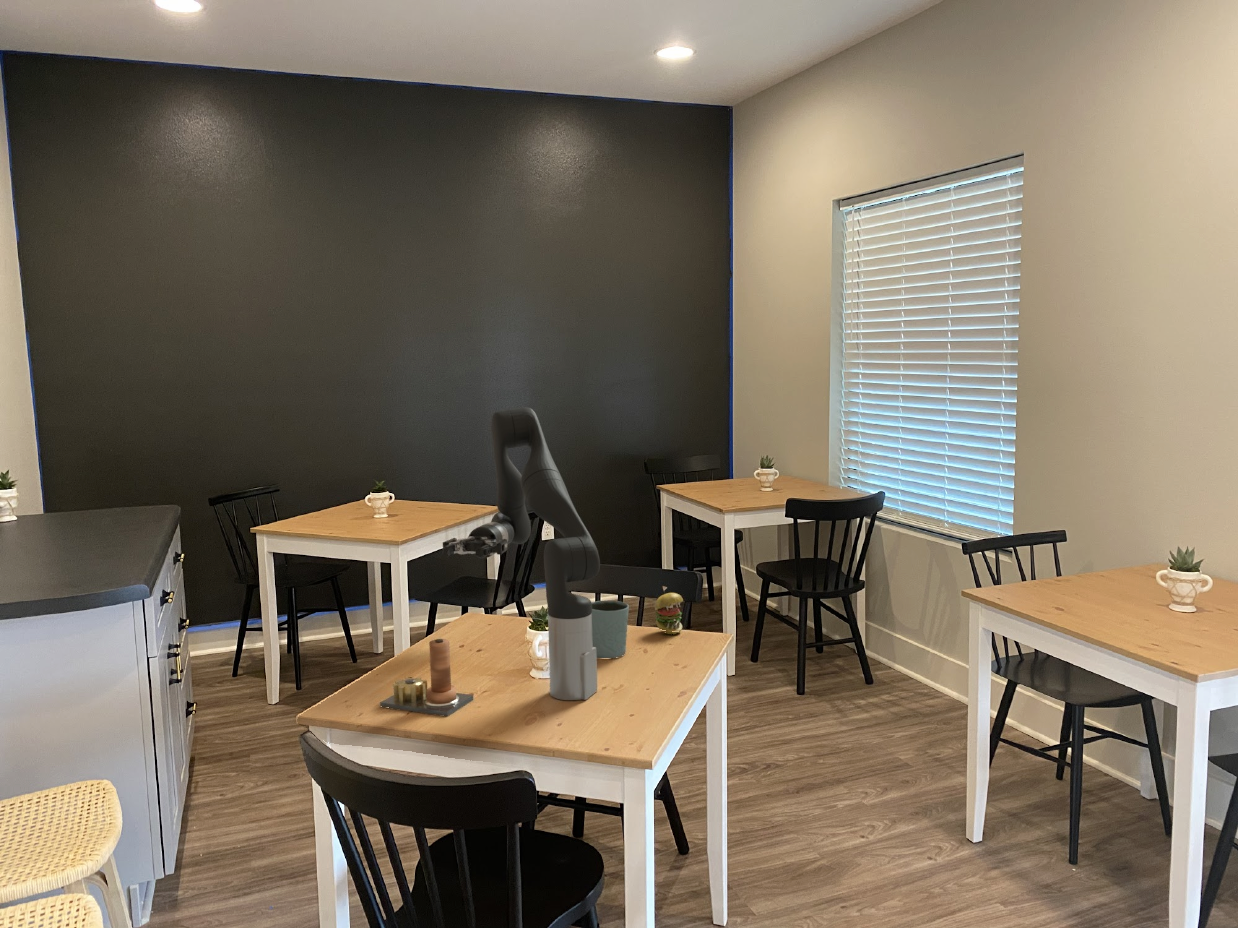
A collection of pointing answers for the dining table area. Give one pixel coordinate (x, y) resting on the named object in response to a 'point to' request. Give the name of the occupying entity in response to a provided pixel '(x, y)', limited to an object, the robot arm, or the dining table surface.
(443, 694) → the brown round post
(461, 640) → the dining table surface
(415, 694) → the sun gear
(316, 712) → the dining table surface
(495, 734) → the dining table surface
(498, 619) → the dining table surface
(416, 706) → the carrier plate
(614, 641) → the teal cup
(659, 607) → the hamburger
